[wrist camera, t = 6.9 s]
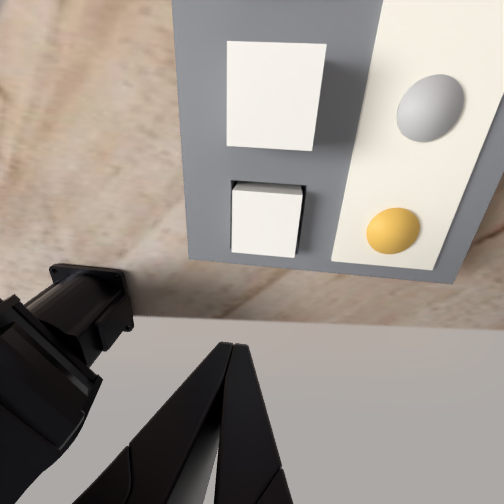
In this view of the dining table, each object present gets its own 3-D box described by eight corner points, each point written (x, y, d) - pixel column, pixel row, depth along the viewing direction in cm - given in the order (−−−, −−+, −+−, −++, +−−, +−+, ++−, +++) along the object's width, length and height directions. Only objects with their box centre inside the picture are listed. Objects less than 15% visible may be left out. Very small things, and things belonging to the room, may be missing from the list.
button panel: (201, 241, 21) (186, 262, 18) (185, -135, 12) (152, -220, 9) (430, 261, 20) (457, 288, 17) (587, -144, 11) (705, -245, 8)
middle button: (237, 140, 15) (226, 146, 12) (239, 57, 13) (226, 40, 10) (306, 144, 15) (311, 151, 12) (317, 60, 13) (326, 43, 10)
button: (239, 232, 19) (231, 252, 16) (240, 178, 18) (232, 190, 15) (292, 236, 19) (294, 258, 16) (299, 182, 17) (302, 195, 14)
